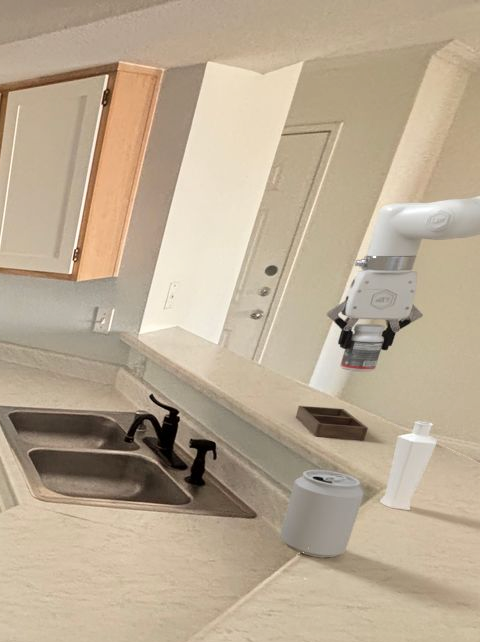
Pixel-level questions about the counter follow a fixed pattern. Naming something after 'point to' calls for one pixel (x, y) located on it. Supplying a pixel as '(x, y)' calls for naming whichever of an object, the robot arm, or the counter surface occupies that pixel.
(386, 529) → the counter surface
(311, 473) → the can
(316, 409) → the brown wooden tray
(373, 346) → the pill bottle
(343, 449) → the counter surface
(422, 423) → the perfume bottle
